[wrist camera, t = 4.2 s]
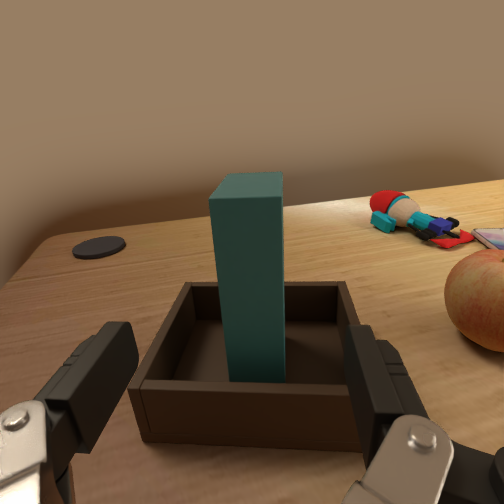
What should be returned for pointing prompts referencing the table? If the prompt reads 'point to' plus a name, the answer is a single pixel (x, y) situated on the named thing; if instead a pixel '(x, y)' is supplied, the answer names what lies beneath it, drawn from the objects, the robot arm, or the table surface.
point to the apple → (478, 298)
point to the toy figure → (413, 219)
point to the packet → (251, 274)
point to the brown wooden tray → (248, 393)
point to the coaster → (98, 247)
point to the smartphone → (490, 237)
